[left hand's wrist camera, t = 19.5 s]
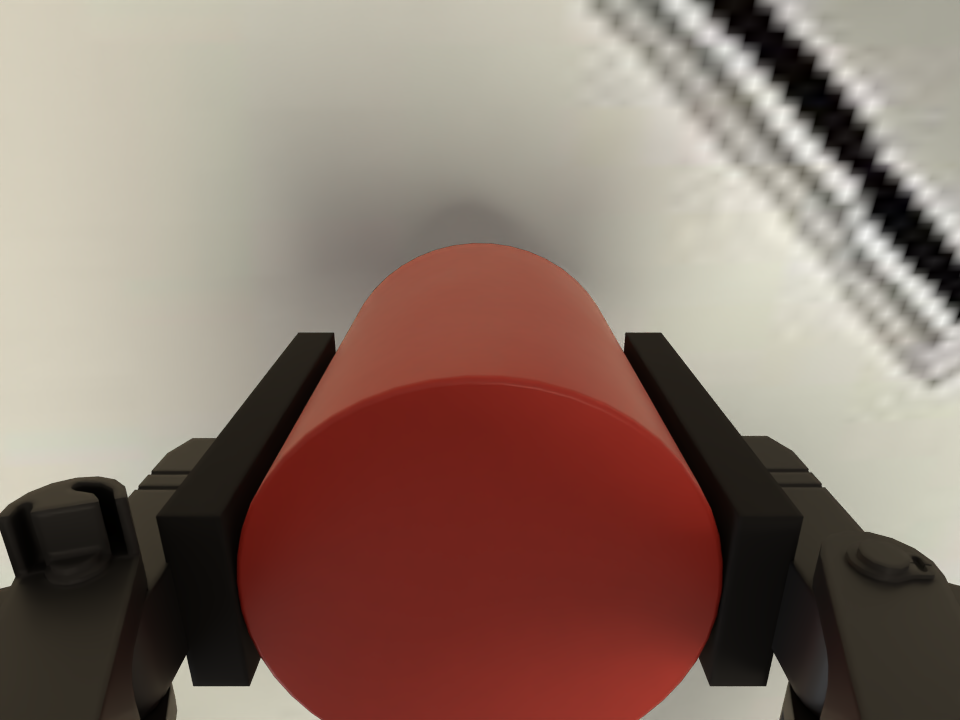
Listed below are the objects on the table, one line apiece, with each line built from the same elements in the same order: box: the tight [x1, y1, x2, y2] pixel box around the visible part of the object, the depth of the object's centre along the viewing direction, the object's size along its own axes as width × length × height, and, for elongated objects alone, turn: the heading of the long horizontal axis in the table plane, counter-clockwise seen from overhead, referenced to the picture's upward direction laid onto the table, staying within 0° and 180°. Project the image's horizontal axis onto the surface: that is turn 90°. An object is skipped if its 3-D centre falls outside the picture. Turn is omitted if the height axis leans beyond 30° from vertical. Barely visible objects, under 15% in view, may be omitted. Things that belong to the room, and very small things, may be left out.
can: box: [237, 243, 723, 720], centre depth 12 cm, size 6×6×7 cm
